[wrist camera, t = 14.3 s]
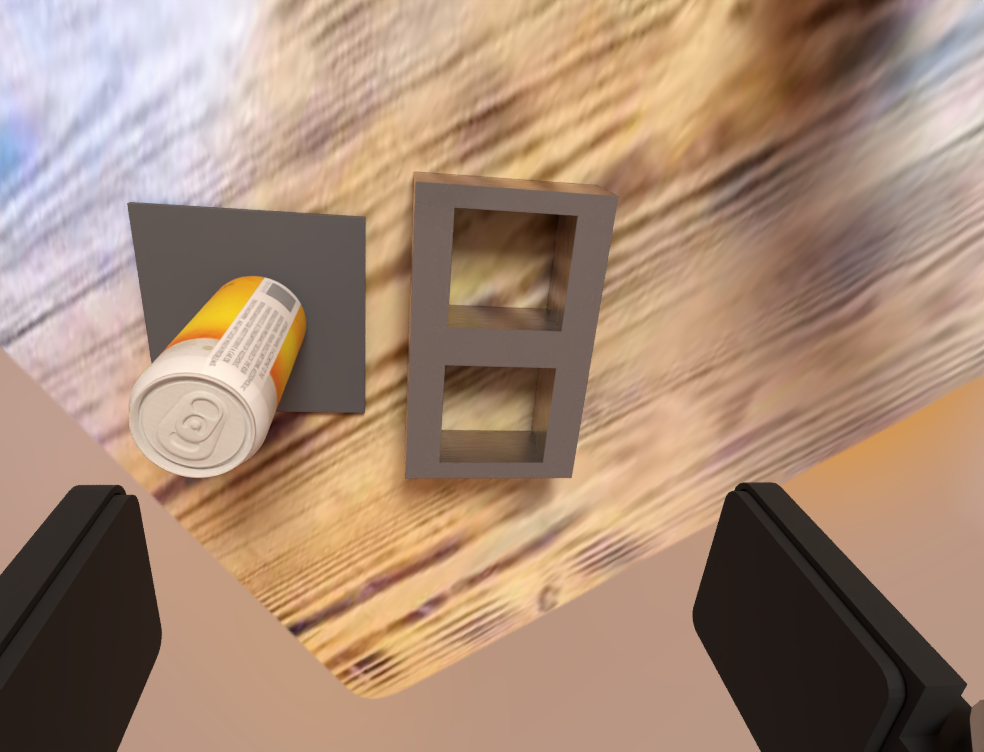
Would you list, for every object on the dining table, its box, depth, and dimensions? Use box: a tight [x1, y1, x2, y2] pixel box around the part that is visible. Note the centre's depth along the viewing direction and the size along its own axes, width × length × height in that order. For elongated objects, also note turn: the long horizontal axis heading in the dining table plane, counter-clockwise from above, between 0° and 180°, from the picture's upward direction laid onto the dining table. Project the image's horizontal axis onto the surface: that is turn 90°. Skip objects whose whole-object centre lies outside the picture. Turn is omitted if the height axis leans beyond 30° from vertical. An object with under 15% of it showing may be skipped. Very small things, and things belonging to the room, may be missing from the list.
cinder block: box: [405, 172, 618, 478], centre depth 42 cm, size 20×12×4 cm, turn 175°
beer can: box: [129, 276, 306, 478], centre depth 34 cm, size 6×6×15 cm
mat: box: [127, 202, 365, 413], centre depth 41 cm, size 14×14×1 cm
